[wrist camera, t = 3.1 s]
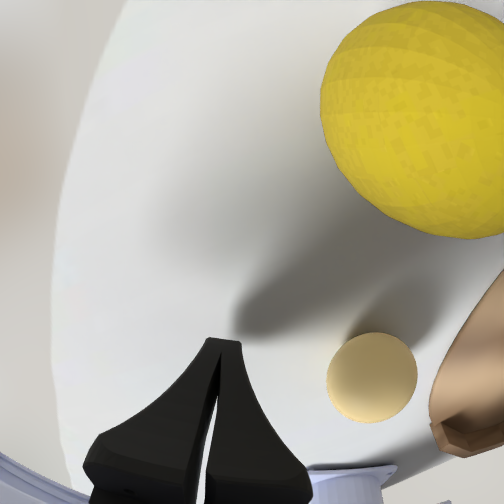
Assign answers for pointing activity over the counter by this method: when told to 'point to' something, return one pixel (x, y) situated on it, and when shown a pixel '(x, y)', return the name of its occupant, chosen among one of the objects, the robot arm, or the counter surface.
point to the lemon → (422, 116)
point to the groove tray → (472, 382)
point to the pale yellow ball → (371, 377)
